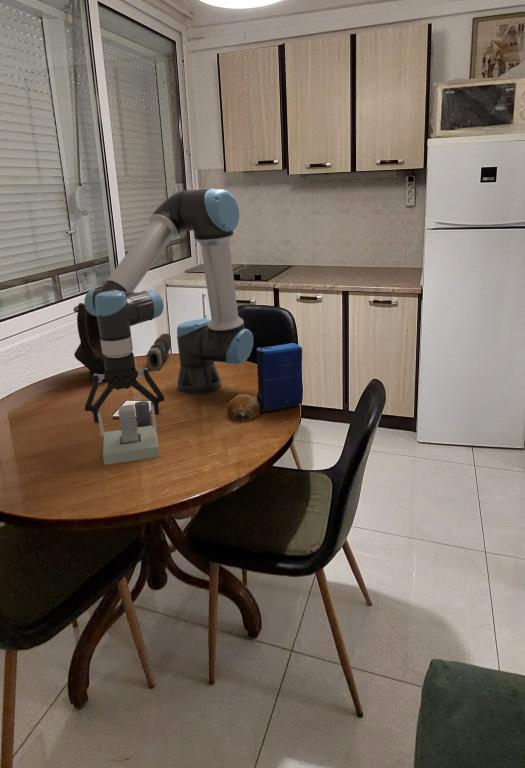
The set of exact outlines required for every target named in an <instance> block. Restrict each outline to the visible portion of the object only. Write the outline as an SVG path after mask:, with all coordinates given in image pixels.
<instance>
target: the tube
mask: <svg viewBox="0 0 525 768" xmlns="http://www.w3.org/2000/svg"><path fill="white" fill-rule="evenodd" d="M171 349H172V339H171V334H170V333H162V334H160V335H159V337H158V338H156V340H155V341H154V343H153V344H152V345H151V347H150V349H148V351H147V353H146V362H147V368H148V370H150V371H152V372H153V371H155V372H156V371H157V372H158V371H160V369H161V367H162V366H163V364H164V362H165V361H166V360H165V359H167V357H168V356H169V354H170V353H169V352H170V351H171Z"/></svg>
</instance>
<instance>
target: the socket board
mask: <svg viewBox="0 0 525 768" xmlns="http://www.w3.org/2000/svg"><path fill="white" fill-rule="evenodd" d="M151 425H152V426H145V427H137V431H138V439H139V442H136V443H130V444H123V440H122V433H121V429H118V430H117V429H116V430H111V431H110V430H109V431H104V435H103V442H102V443H103V444H102V448H103V449H102V458H103V459H102V460H103V463H104V466H108V465H116V464H120V463H127V462H134V461H140V460H148V459H153V458H159V457H161V455H160V446H159V441H158V435H157V428H154V426H153V424H151Z"/></svg>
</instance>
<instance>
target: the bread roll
mask: <svg viewBox="0 0 525 768" xmlns="http://www.w3.org/2000/svg"><path fill="white" fill-rule="evenodd" d="M227 404H228V405H227V416H228V417H229V418H230V419H231V420H235V421H241V422H242V421H243V422H244V421H249V420H252V419H255V418H257V417H259V415H260V413H261V412H260V404H259V402H258V401H257V398H256V397H254V396H252V395H251V394H250V395H249V394H246V393H245V394H244V393H241V394H239V393H238V394H237V395H236V396H235V397H234V398H232V399H231V400H230V401H229V402H228V403H227Z"/></svg>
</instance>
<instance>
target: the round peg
mask: <svg viewBox="0 0 525 768" xmlns="http://www.w3.org/2000/svg"><path fill="white" fill-rule="evenodd" d="M149 403H150V402H149V401H147V400H141V401H137V402H135V403H134V409H135V417H136V424H137V428H138V427H145V426H152V425H153V424H152V419H151V417H152V416H151V411H150V409H151V408H150V404H149Z"/></svg>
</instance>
